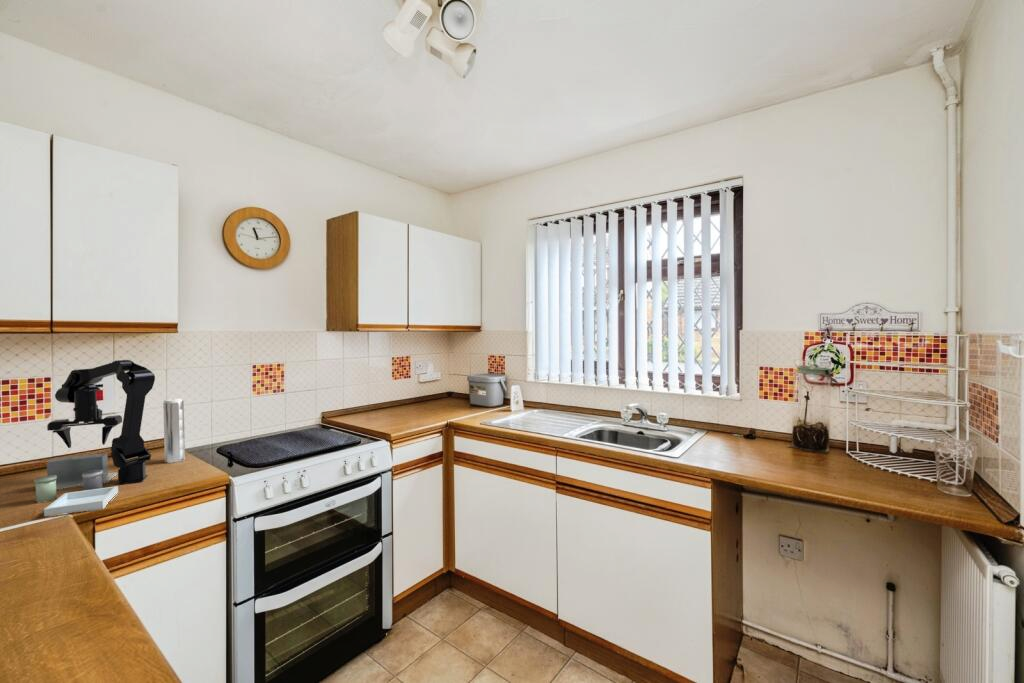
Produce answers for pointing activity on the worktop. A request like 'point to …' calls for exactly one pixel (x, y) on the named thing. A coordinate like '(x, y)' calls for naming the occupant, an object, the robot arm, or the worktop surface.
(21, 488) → the worktop surface
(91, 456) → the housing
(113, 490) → the tray
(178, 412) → the silver metal cylinder
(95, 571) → the worktop surface
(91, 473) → the grey cup
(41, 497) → the cylinder
